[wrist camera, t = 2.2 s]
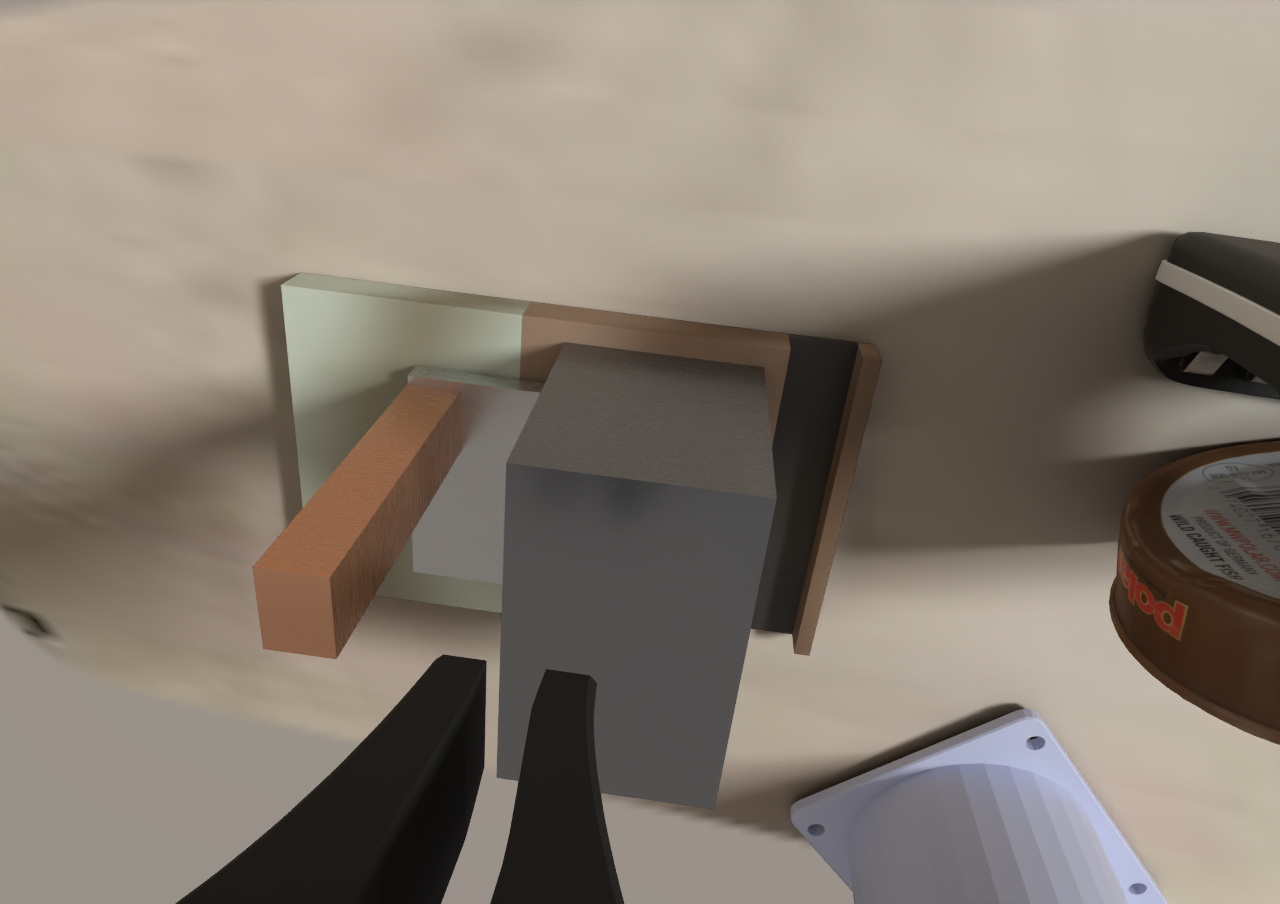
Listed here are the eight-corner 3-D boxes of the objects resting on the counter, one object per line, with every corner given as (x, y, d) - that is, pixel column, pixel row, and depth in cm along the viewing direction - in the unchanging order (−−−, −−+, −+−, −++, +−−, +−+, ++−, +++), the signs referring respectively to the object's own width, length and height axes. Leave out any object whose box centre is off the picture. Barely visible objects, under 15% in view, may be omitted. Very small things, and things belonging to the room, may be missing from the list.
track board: (874, 344, 20) (881, 360, 19) (806, 631, 24) (808, 655, 23) (300, 272, 20) (281, 285, 20) (325, 565, 24) (310, 586, 23)
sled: (748, 408, 20) (758, 626, 13) (715, 598, 22) (708, 866, 15) (416, 365, 20) (251, 556, 13) (420, 558, 23) (284, 803, 16)
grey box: (764, 367, 19) (776, 498, 14) (718, 627, 23) (714, 809, 18) (565, 342, 20) (506, 462, 14) (548, 604, 23) (496, 777, 18)
